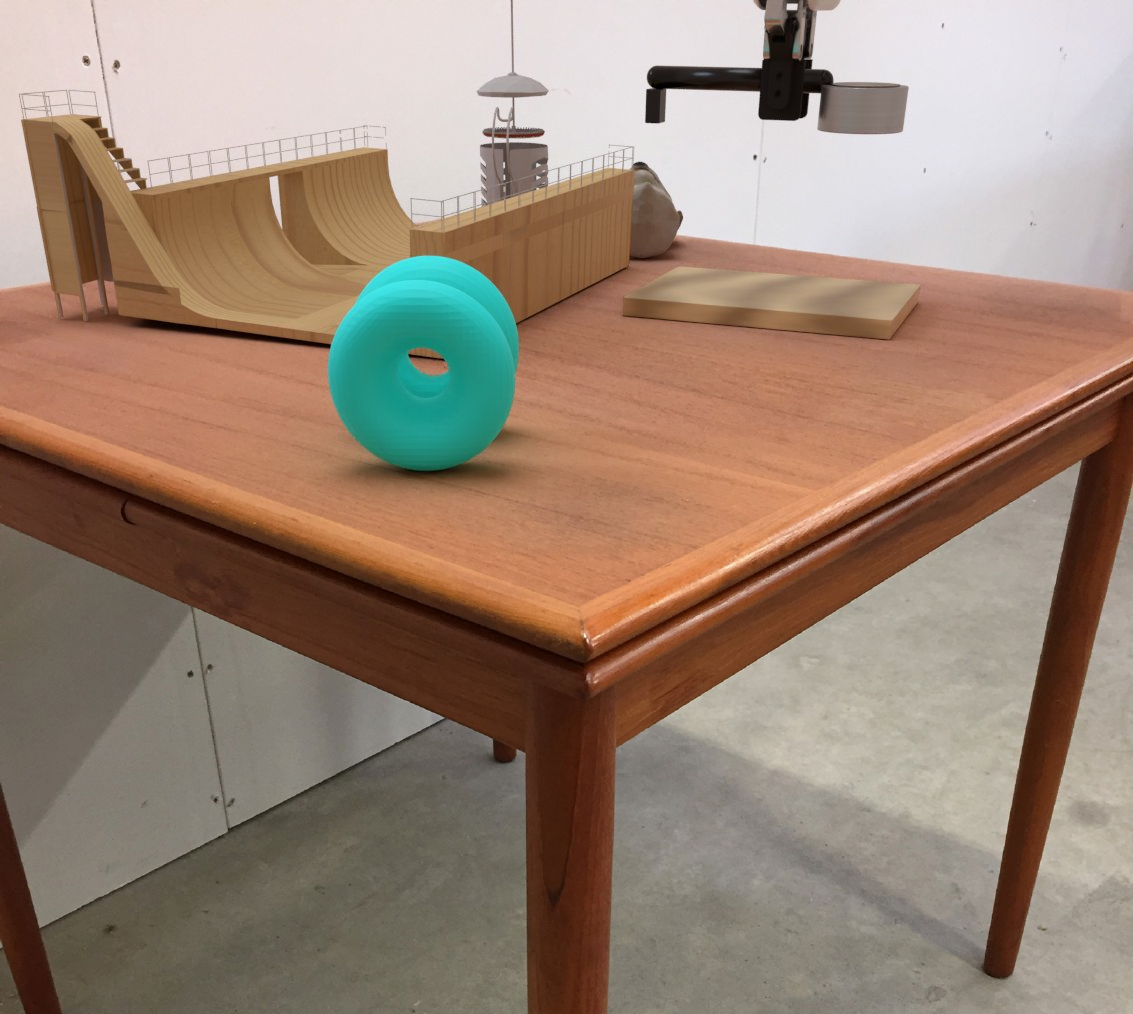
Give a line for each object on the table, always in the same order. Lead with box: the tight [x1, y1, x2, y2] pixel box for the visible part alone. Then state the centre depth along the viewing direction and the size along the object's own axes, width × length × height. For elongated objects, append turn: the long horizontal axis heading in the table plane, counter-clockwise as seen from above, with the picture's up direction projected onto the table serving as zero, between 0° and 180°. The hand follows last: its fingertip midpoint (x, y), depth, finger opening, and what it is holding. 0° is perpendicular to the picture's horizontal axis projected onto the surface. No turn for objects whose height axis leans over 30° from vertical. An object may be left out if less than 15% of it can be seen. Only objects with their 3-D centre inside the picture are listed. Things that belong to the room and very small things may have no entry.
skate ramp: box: [18, 89, 635, 360], centre depth 106 cm, size 40×35×16 cm
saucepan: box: [644, 65, 910, 135], centre depth 94 cm, size 20×6×4 cm, turn 68°
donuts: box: [327, 256, 520, 472], centre depth 69 cm, size 10×10×10 cm
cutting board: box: [622, 265, 922, 341], centre depth 104 cm, size 22×15×2 cm
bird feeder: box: [476, 0, 550, 207], centre depth 137 cm, size 10×12×25 cm
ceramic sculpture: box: [628, 161, 684, 259], centre depth 126 cm, size 11×9×15 cm
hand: (782, 116), depth 95 cm, fingers closed on saucepan
